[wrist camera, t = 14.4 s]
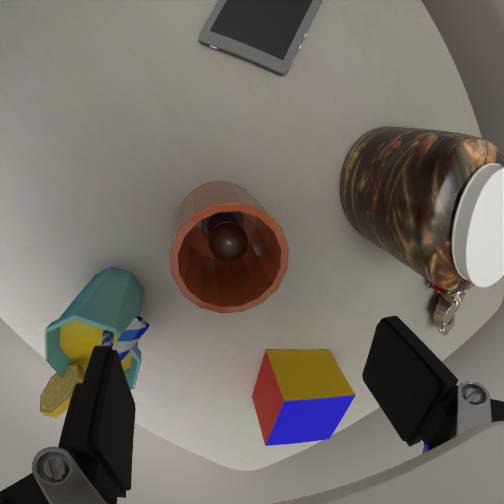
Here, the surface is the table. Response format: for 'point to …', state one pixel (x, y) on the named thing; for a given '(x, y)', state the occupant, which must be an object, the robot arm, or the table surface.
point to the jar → (430, 202)
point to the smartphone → (260, 30)
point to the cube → (300, 396)
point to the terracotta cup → (220, 272)
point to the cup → (93, 335)
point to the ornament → (447, 311)
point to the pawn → (225, 235)
